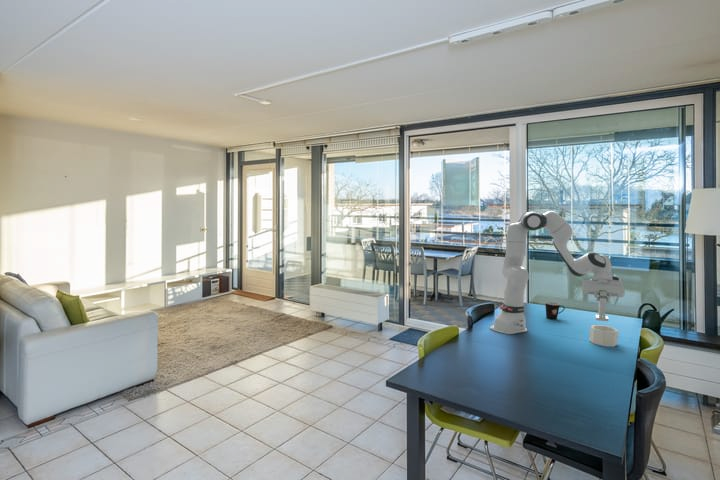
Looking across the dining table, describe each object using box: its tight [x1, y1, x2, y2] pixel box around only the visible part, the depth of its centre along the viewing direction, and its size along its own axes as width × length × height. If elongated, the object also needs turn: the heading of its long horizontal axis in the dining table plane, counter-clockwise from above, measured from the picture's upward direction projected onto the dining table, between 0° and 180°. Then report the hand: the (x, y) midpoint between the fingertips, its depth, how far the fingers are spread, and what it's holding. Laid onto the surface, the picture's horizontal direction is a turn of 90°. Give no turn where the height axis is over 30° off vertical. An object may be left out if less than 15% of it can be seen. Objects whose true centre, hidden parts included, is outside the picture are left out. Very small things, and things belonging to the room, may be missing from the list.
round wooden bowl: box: [589, 324, 619, 347], centre depth 215 cm, size 12×12×8 cm
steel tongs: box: [595, 290, 609, 322], centre depth 215 cm, size 6×6×16 cm
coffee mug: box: [544, 301, 566, 321], centre depth 261 cm, size 12×9×10 cm
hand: (602, 300), depth 214 cm, fingers closed on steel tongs, 3 cm apart
